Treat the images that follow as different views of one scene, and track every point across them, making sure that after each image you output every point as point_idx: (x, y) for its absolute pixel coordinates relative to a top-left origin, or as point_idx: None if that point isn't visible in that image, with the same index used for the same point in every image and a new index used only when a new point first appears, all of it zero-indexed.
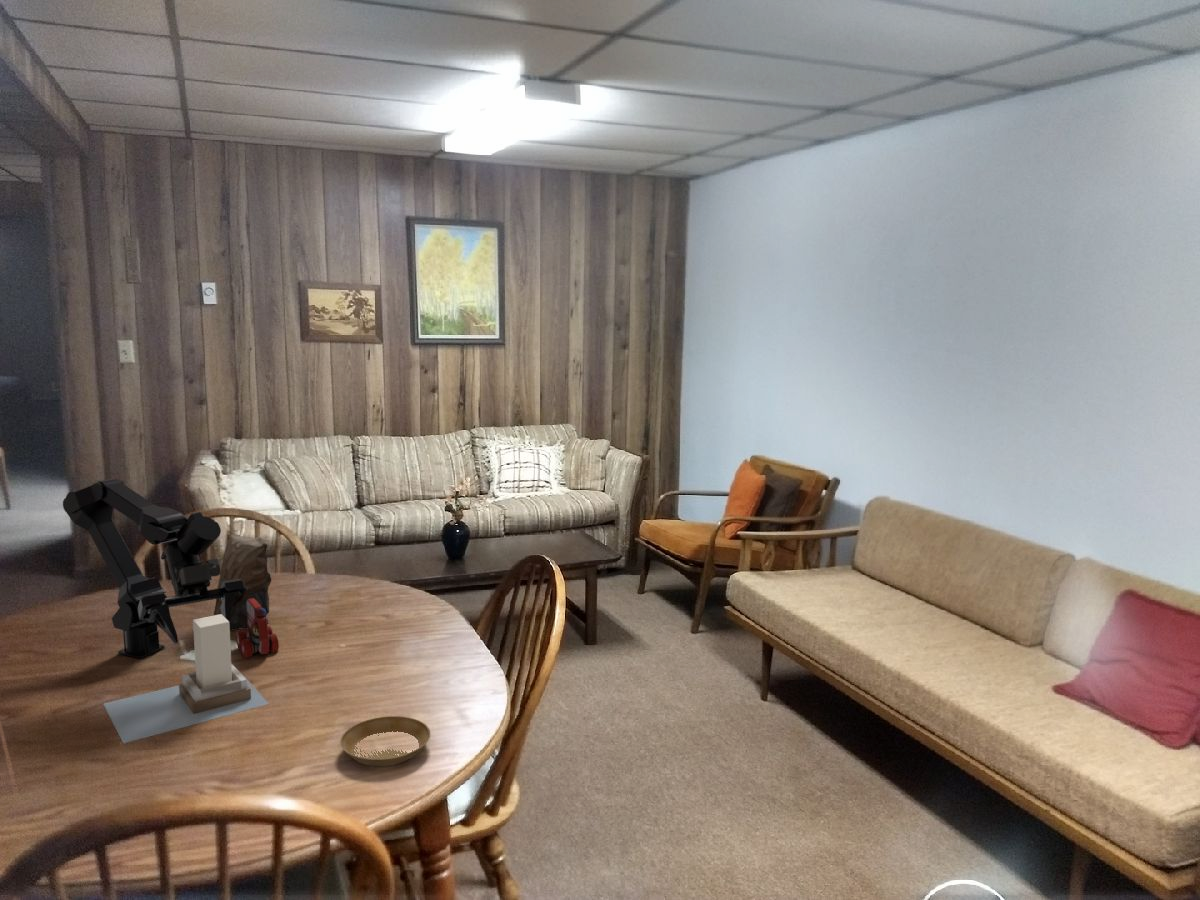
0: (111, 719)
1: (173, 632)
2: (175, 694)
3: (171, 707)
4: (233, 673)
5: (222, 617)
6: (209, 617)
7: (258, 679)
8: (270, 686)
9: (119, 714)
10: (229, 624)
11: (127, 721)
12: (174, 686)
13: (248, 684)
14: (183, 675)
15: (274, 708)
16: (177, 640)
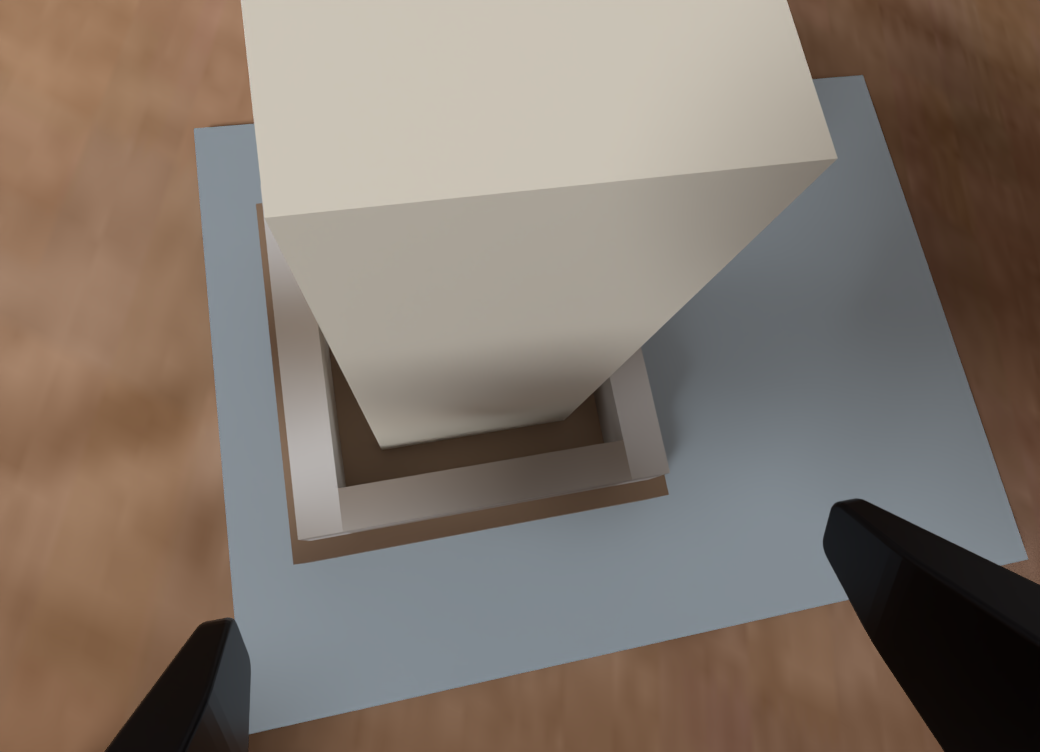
0: (950, 333)
1: (958, 560)
2: (668, 504)
3: (685, 335)
4: (322, 350)
5: (283, 11)
6: (532, 130)
7: (152, 550)
8: (113, 397)
9: (924, 375)
10: (157, 692)
11: (875, 276)
12: (675, 638)
13: (238, 448)
14: (660, 464)
15: (180, 104)
16: (846, 503)
